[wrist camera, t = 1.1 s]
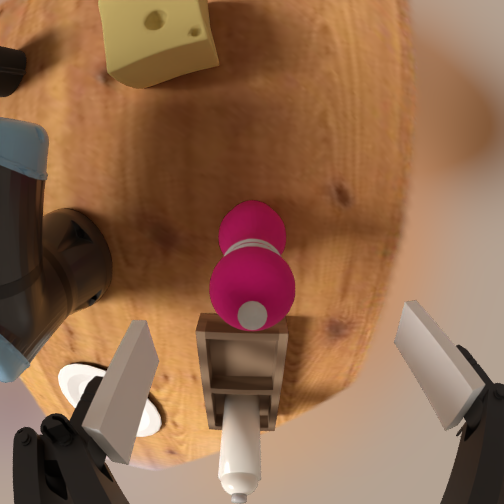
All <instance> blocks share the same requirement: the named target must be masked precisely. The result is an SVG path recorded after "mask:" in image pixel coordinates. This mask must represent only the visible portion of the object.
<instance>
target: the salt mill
mask: <svg viewBox="0 0 504 504" xmlns="http://www.w3.org/2000/svg"><path fill="white" fill-rule="evenodd" d="M218 474H219V475H218V478H219V479H220V480H221V485H222V487H223V489H224V490H225V491H226V492H227V493H229V494H230V495H232V499H231V501H232V502H233V503H240V504H241V503H246V500H247V498H246V497H247V495H249V494H251V493H253V492H254V491H255V489H256V488H257V486H258V481H260V480H261V451H260V406H259V396H258V395H240V394H226V396H225V404H224V415H223V426H222V437H221V449H220V462H219V473H218Z"/></svg>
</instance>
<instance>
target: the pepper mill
mask: <svg viewBox="0 0 504 504" xmlns="http://www.w3.org/2000/svg"><path fill="white" fill-rule="evenodd" d="M218 237H219V246H220V249H221V251H222V253H223V255H224V257H223V258H222V259H221V260H220V261H219V262H218V264H217V265H216V267H215V268H214V270H213V273H212V276H211V279H210V291H209V293H210V298H211V302H212V305H213V307H214V309H215V311H216V312H217V314H218V315H219V316H220V317H221V318H222V319H223V320H224V321H225V322H226V323H228V324H229V325H231V326H233V327H235V328H237V329H240V330H245V331H259V330H264V329H267V328H270V327H272V326H274V325H275V324H277V323H278V322H280V321H281V320H282V319H283V318H284V317H285V316H286V314H287V313H288V312H289V311H290V308H291V306H292V304H293V302H294V297H295V280H294V276H293V274H292V271H291V269H290V267H289V265H288V264H287V263H286V262H285V261H284V260H283V259H282V257H281V254H282V253H283V251H284V248H285V244H286V231H285V226H284V224H283V221H282V220H281V218H280V217H279V215H278V214H277V213H276V212H275V211H274V210H272V209H271V208H270V207H269V206H268V205H266V204H265V203H263V202H260V201H255V200H250V201H245V202H242V203H240V204H238V205H237V206H235V207H234V208H233V209H232V210H231V211H230V212H229V213H228V214H227V215H226V216H225V217H224V219H223V220H222V223H221V225H220V229H219V236H218Z"/></svg>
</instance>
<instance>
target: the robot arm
mask: <svg viewBox="0 0 504 504" xmlns="http://www.w3.org/2000/svg"><path fill="white" fill-rule="evenodd" d="M48 146H49V138H48V134H47V132H46V131H45V129H44V128H43V127H42V126H40V125H38V124H35V123H31V122H26V121H21V120H15V119H9V118H3V117H0V381H1V382H5V383H7V382H13V381H15V380H16V379H17V378H18V377H19V376H20V375H21V374H22V373H23V372H24V370H25V369H26V368H28V367H29V366H30V363H31V361H32V360H33V359H34V357H35V356H36V355H37V353H38V352H39V351H40V349H41V348H42V347H43V346H44V344H45V343H46V342H47V341H48V339H49V338H50V337H51V336H52V335H53V333H54V332H55V331H56V330H57V329H58V327H59V326H60V325H61V324H62V323H63V321H64V320H65V319H66V318H67V317H68V316H69V315H70V314H73V313H75V312H77V311H80V310H82V309H84V308H87V307H89V306H91V305H93V304H94V303H96V302H97V301H98V300H99V299H100V298H101V296H102V295H103V294H104V293H105V292H106V290H107V289H108V287H109V284H110V282H111V277H112V260H111V255H110V251H109V248H108V246H107V243H106V241H105V239H104V237H103V235H102V234H101V232H100V231H99V229H98V228H97V227H96V226H95V224H94V223H93V222H92V221H91V220H90V219H88V218H87V217H86V216H84V215H83V214H81V213H79V212H77V211H75V210H71V209H58V210H55V211H53V212H50V213H48V214H46V215H44V216H43V202H44V189H45V180H47V176H48V174H47V172H46V168H47V156H48ZM394 343H395V345H396V346H397V348H398V350H399V351H400V353H401V355H402V356H403V358H404V359H405V361H406V363H407V364H408V366H409V368H410V369H411V371H412V373H413V374H414V376H415V378H416V379H417V381H418V383H419V384H420V386H421V388H422V390H423V391H424V393H425V395H426V397H427V398H428V400H429V402H430V404H431V406H432V407H433V409H434V411H435V413H436V415H437V416H438V418H439V420H440V422H441V424H442V426H443V427H444V430H445V431H446V430H448V429H451V428H453V427H455V426H457V425H458V424H459V423H460V421H461V420H462V419H463V417H464V419H465V420H466V422H465V424H464V425H463V426H462V427H461V429H460V430H459V431H458V433H457V435H456V436H459V434H460V433H461V432H462V435H461V439H460V444H459V447H458V452H457V455H456V459H455V462H454V466H453V469H452V472H451V475H450V478H449V482H448V484H447V487H446V490H445V493H444V495H443V498H442V501H441V503H440V504H504V385H503V384H501V383H495V384H494V383H493V382H492V381H491V380H490V378H489V377H488V376H487V374H486V373H485V372H484V371H483V369H482V368H481V367H480V365H479V364H477V362H476V360H475V359H474V358H473V357H472V355H471V354H470V353H469V352H468V351H467V350H466V349H465V348H463V347H462V346H460V345H457V346H455V345H454V343H453V342H452V341H451V340H450V339H449V337H448V336H447V335H446V334H445V333H444V331H443V330H442V329H441V328H440V327H439V325H438V324H437V323H436V322H435V321H434V320H433V318H432V317H431V316H430V315H429V314H428V313H427V312H426V311H425V309H424V308H423V307H422V306H421V305H420V304H419V303H418V302H417V301H416V300H414V301H407V302H405V303H404V307H403V311H402V315H401V319H400V323H399V326H398V330H397V334H396V337H395V340H394ZM158 363H159V359H158V356H157V353H156V350H155V347H154V344H153V341H152V337H151V334H150V331H149V328H148V324H147V321H146V320H132V322H131V324H130V326H129V328H128V330H127V332H126V333H125V335H124V337H123V339H122V341H121V343H120V345H119V347H118V349H117V351H116V353H115V355H114V357H113V359H112V361H111V363H110V365H109V367H108V369H107V371H106V373H105V375H104V377H101V376H95V377H94V378H93V379H92V380H91V381H90V382H88V384H87V386H86V388H85V390H84V393H83V394H82V396H81V398H80V400H79V402H78V404H77V406H76V408H75V410H74V412H73V414H72V417H71V419H70V421H69V420H68V419H67V418H66V417H65V416H64V415H62V414H58V413H55V414H51V415H49V416H47V417H46V418H45V419H44V420H43V421H42V424H41V432H42V434H43V435H38V434H37V433H36V432H35V431H34V430H33V429H32V428H30V427H24V428H21V429H20V430H18V431H17V433H16V434H15V437H14V444H13V489H14V490H13V491H14V504H129V502H128V501H127V499H126V497H125V496H124V494H123V492H122V491H121V489H120V487H119V486H118V484H117V482H116V481H115V479H114V477H113V475H112V473H111V471H110V469H109V468H108V466H107V464H106V463H105V458H106V455H107V456H108V457H109V458H110V460H111V461H113V462H117V463H122V464H126V465H129V461H130V457H131V454H132V450H133V446H134V442H135V439H136V435H137V432H138V428H139V425H140V421H141V418H142V414H143V411H144V408H145V404H146V401H147V398H148V394H149V391H150V388H151V385H152V381H153V378H154V375H155V372H156V369H157V366H158Z"/></svg>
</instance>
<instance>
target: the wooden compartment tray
mask: <svg viewBox="0 0 504 504" xmlns="http://www.w3.org/2000/svg"><path fill="white" fill-rule="evenodd" d="M288 334H289V333H288V327H287V322H286V316H285V317H284V318H283V319H282V320H281V321H280V322H278V323H277V324H275V325H274V326H272V327H270V328H267V329H264V330H259V331H245V330H240V329H237V328H235V327H233V326H231V325H229V324H228V323H226V322H225V321H224V320H223V319H222V318H221V317H220V316H219V315H218V314H202V313H201V314H200V317H199V321H198V324H197V328H196V339H197V348H198V356H199V364H200V372H201V379H202V386H203V393H204V400H205V406H206V413H207V419H208V425H209V429H215V430H222V426H223V415H224V404H225V396H226V394H240V395H258V396H259V406H260V431H275V425H276V419H277V413H278V406H279V400H280V393H281V386H282V380H283V373H284V365H285V358H286V350H287V342H288Z"/></svg>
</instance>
